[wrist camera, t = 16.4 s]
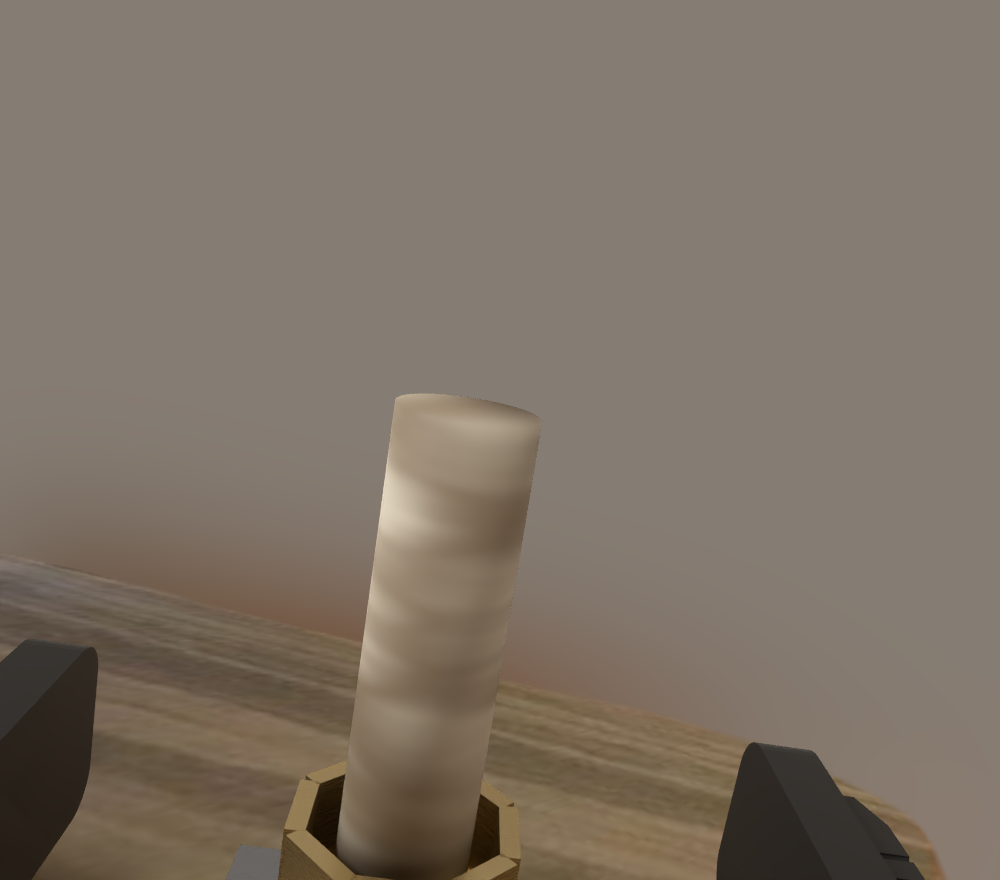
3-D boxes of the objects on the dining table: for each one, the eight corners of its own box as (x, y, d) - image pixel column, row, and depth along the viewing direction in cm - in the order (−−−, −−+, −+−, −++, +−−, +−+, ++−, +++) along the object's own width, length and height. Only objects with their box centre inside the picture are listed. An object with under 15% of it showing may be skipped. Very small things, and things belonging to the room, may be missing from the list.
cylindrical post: (298, 927, 28) (365, 399, 25) (378, 860, 31) (446, 389, 28) (408, 994, 26) (497, 434, 23) (481, 915, 30) (566, 419, 26)
